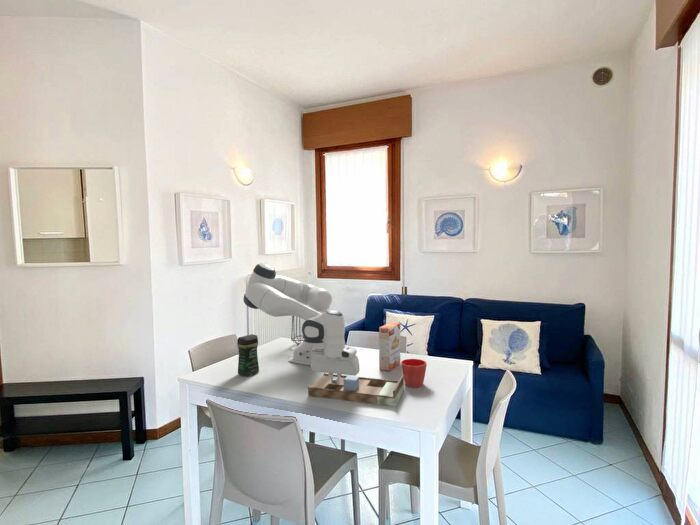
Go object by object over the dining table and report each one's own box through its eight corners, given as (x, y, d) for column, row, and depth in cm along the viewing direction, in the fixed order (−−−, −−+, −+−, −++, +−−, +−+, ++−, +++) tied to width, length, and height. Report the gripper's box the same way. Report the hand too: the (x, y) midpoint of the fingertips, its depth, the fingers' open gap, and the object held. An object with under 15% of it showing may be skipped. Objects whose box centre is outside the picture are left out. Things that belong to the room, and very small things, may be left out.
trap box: (308, 395, 156) (307, 381, 156) (324, 381, 172) (323, 368, 172) (395, 406, 144) (395, 390, 144) (403, 389, 160) (403, 375, 160)
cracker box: (390, 371, 183) (389, 328, 182) (378, 370, 186) (378, 327, 185) (401, 363, 195) (400, 322, 194) (390, 361, 198) (389, 321, 197)
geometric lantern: (288, 349, 226) (286, 289, 225) (295, 342, 241) (293, 287, 240) (314, 349, 223) (312, 289, 222) (320, 342, 239) (318, 286, 238)
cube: (343, 389, 154) (343, 380, 154) (347, 385, 159) (347, 375, 158) (355, 391, 152) (355, 381, 152) (359, 386, 157) (359, 377, 157)
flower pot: (409, 378, 174) (409, 356, 174) (431, 383, 167) (430, 361, 167) (396, 385, 166) (396, 362, 165) (419, 390, 159) (418, 367, 158)
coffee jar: (246, 378, 178) (244, 338, 177) (235, 375, 183) (233, 336, 182) (262, 372, 186) (260, 334, 185) (251, 369, 190) (250, 332, 189)
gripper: (307, 350, 157) (308, 383, 158) (355, 354, 150) (356, 389, 151) (314, 346, 163) (315, 378, 163) (360, 349, 156) (360, 383, 157)
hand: (335, 383), depth 157 cm, fingers closed
